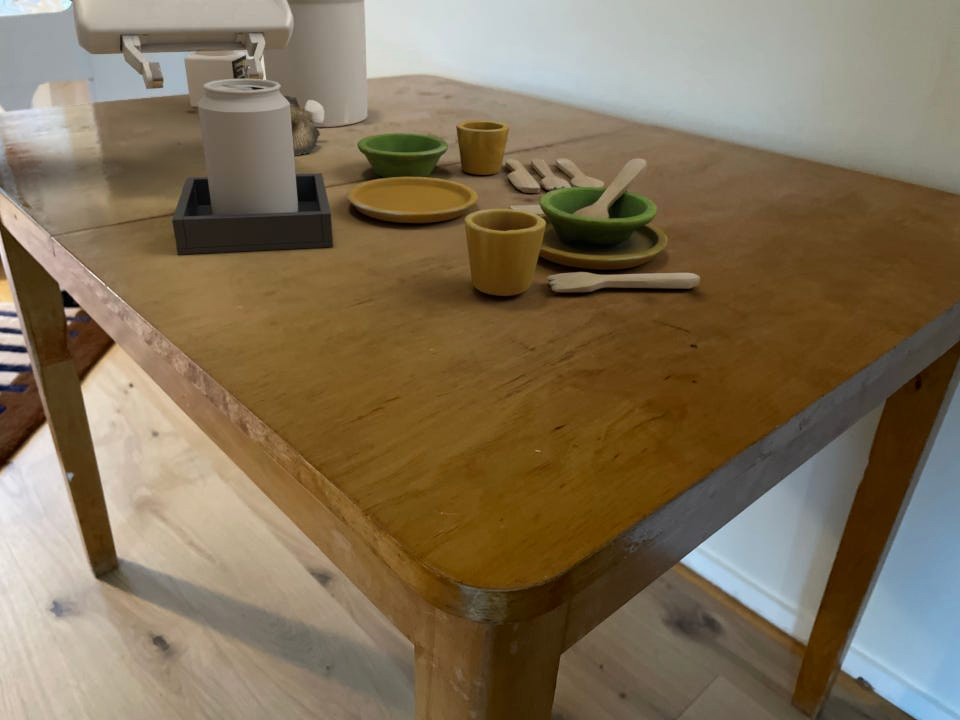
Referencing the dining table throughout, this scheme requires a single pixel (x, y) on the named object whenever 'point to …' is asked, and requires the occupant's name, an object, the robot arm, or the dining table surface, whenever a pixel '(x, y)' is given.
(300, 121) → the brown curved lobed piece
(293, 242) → the dark grey tray
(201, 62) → the medicine bottle
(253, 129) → the can
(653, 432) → the dining table surface
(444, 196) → the tableware set
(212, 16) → the robot arm
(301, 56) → the utensil holder
